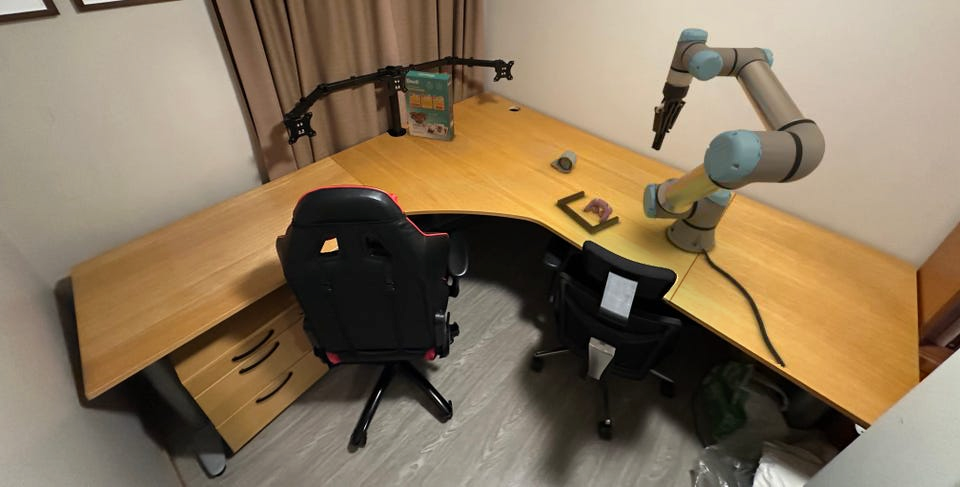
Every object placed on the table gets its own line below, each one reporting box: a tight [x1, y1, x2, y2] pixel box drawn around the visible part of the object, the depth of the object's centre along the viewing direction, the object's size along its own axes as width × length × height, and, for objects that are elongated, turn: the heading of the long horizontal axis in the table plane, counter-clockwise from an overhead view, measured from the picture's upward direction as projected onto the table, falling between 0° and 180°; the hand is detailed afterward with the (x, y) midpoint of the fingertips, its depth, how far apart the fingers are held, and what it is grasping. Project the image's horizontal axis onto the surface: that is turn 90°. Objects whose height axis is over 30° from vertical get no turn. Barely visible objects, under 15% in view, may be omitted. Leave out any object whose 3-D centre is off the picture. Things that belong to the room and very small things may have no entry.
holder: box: [556, 190, 620, 235], centre depth 154 cm, size 20×13×2 cm, turn 31°
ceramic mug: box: [551, 150, 578, 173], centre depth 177 cm, size 11×8×8 cm
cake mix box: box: [404, 70, 455, 142], centre depth 192 cm, size 22×6×30 cm, turn 74°
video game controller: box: [584, 197, 614, 223], centre depth 152 cm, size 10×5×7 cm, turn 34°
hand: (655, 148), depth 143 cm, fingers closed
